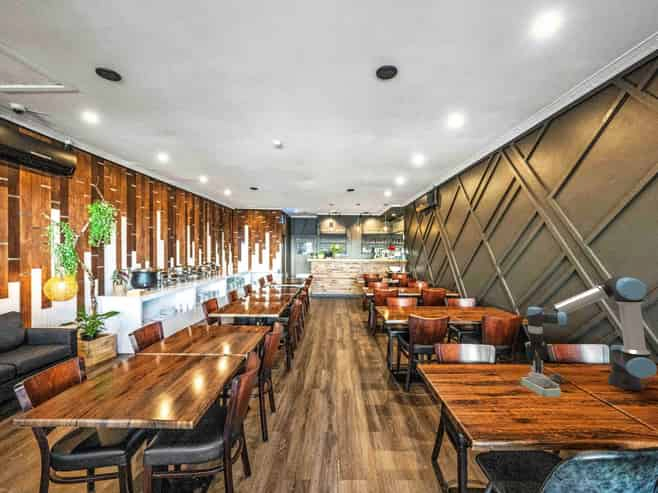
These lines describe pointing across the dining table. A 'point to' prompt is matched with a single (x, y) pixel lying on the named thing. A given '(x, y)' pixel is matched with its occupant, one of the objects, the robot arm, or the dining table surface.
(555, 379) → the rail
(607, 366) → the dining table surface
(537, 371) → the kicker
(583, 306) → the robot arm
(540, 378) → the cup
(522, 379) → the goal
